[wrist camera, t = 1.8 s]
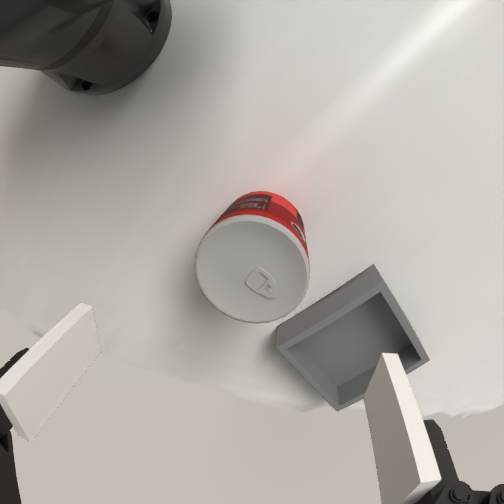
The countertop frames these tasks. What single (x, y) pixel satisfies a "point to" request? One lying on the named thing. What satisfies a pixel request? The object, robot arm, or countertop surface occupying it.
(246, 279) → the canned food
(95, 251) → the countertop surface
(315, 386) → the tray
